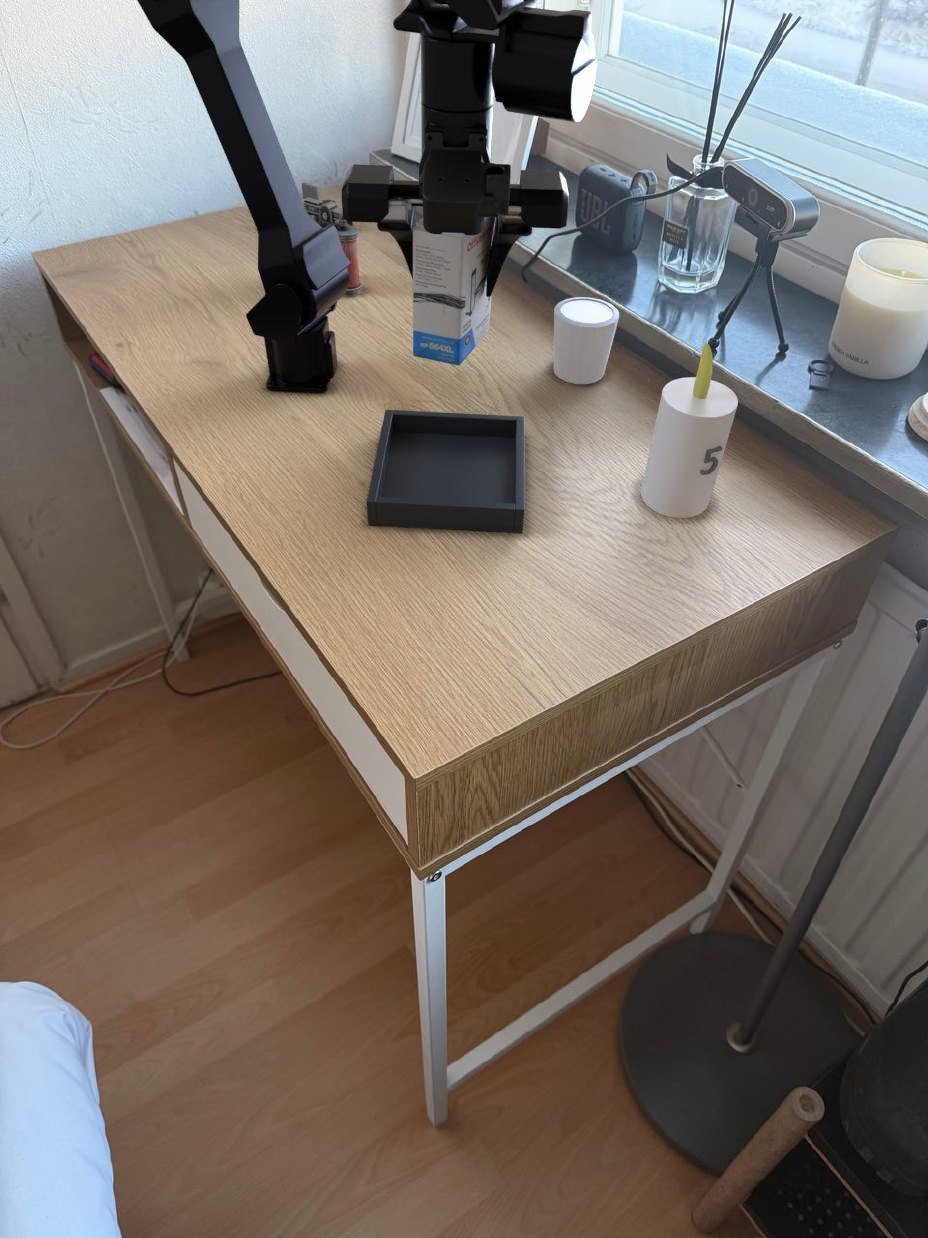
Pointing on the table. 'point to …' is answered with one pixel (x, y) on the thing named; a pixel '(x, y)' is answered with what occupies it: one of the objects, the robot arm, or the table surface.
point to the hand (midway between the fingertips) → (454, 293)
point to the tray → (449, 472)
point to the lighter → (347, 235)
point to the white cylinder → (583, 338)
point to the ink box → (450, 292)
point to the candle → (688, 442)
